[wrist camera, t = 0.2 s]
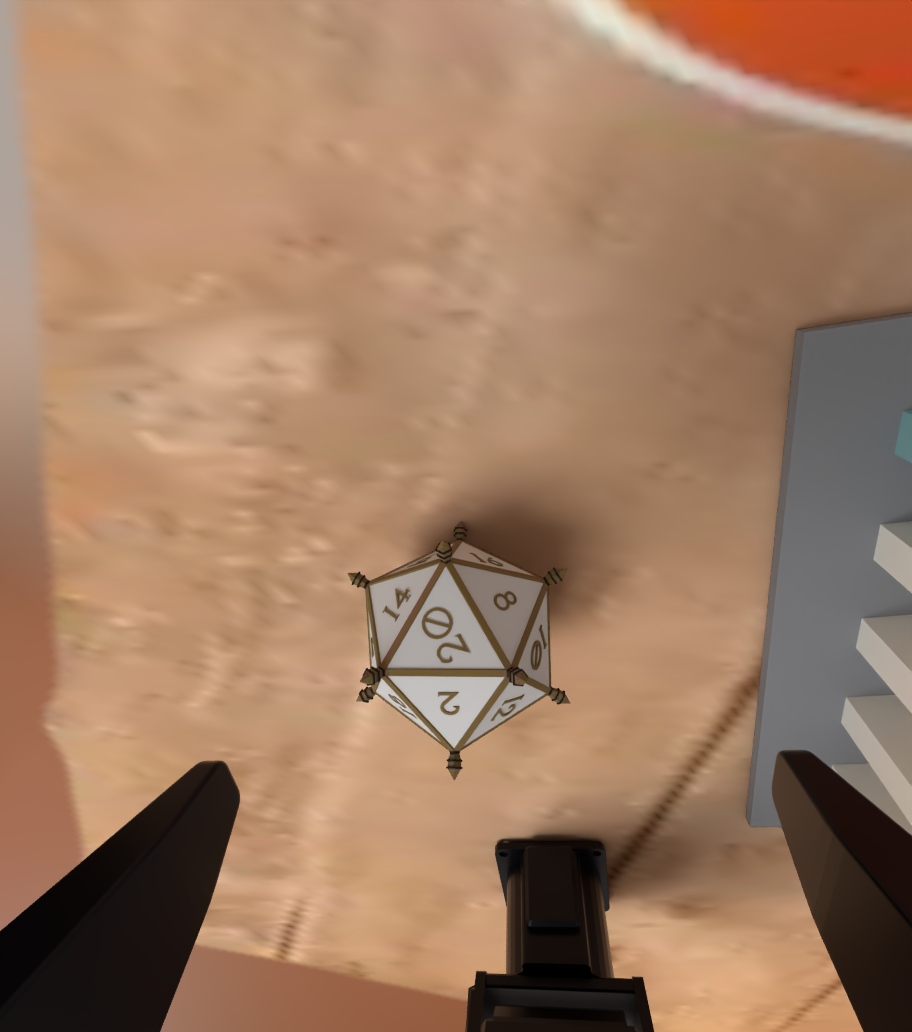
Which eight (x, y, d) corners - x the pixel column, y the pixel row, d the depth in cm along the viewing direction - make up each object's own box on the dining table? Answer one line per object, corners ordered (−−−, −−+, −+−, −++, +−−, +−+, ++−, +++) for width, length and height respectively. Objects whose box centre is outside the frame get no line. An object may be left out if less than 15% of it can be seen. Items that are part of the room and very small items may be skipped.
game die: (432, 537, 28) (257, 574, 20) (575, 486, 23) (411, 508, 15) (483, 708, 27) (320, 815, 19) (643, 695, 22) (506, 837, 14)
